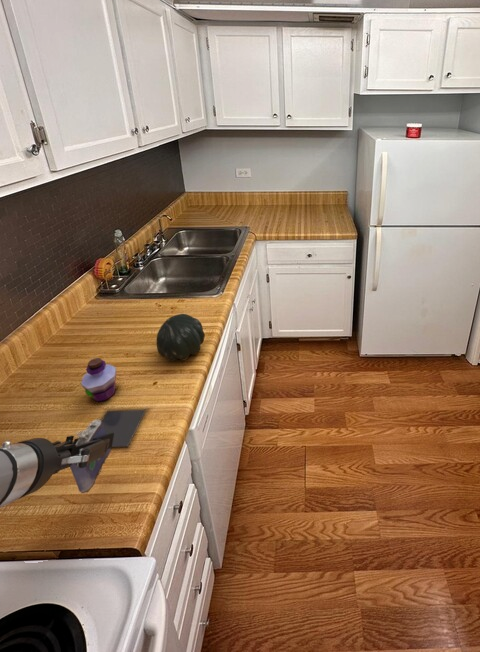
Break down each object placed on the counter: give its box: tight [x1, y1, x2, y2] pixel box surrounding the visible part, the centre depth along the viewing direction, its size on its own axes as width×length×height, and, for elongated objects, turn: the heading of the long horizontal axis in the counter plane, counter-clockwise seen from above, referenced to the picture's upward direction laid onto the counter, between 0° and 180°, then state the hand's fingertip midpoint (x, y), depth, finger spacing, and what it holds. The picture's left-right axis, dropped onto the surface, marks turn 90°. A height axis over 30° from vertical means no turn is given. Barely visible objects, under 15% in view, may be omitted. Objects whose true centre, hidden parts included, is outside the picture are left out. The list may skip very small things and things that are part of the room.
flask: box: [69, 418, 112, 494], centre depth 66 cm, size 9×3×11 cm, turn 4°
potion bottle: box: [80, 357, 117, 404], centre depth 92 cm, size 9×9×12 cm
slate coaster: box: [101, 409, 147, 449], centre depth 84 cm, size 10×10×1 cm
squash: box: [156, 313, 206, 361], centre depth 108 cm, size 14×15×15 cm
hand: (102, 440), depth 70 cm, fingers closed on flask, 3 cm apart
